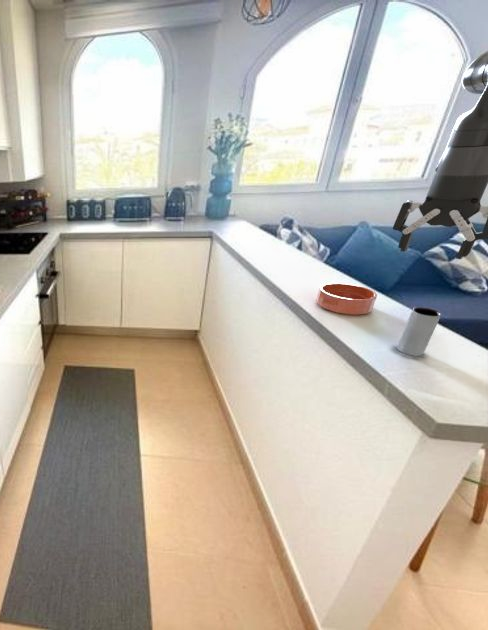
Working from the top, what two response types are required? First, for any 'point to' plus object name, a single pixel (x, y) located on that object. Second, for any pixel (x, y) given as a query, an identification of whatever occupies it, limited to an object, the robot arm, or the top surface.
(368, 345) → the top surface
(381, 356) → the top surface
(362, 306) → the bowl
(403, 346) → the grey cylinder
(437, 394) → the top surface
